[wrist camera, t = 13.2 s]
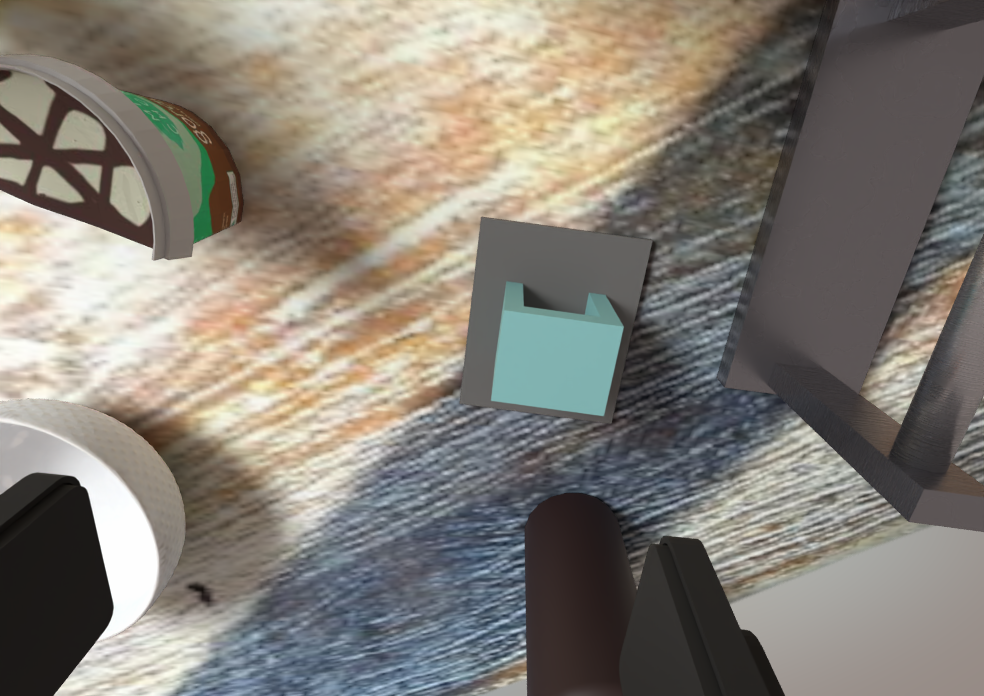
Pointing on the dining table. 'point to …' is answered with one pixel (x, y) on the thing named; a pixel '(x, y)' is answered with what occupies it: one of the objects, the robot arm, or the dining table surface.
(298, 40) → the dining table surface
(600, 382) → the teal u-channel
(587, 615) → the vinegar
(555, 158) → the dining table surface
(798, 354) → the stand
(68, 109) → the food container
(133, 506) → the cereal bowl
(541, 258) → the mat
